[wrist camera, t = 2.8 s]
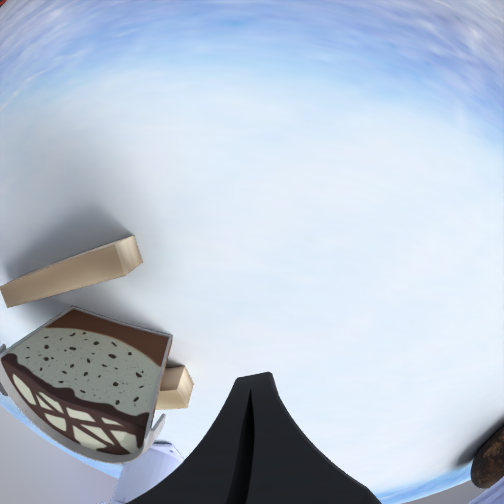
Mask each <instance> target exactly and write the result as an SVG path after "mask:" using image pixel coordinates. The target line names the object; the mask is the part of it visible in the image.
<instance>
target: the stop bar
mask: <svg viewBox="0 0 504 504" xmlns="http://www.w3.org/2000/svg"><path fill="white" fill-rule="evenodd" d="M0 391H1V393H2V394H3V395H5V396H8V393H7V392H6V390H5V389H4V387H3V385H2V384H1V382H0Z"/></svg>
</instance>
